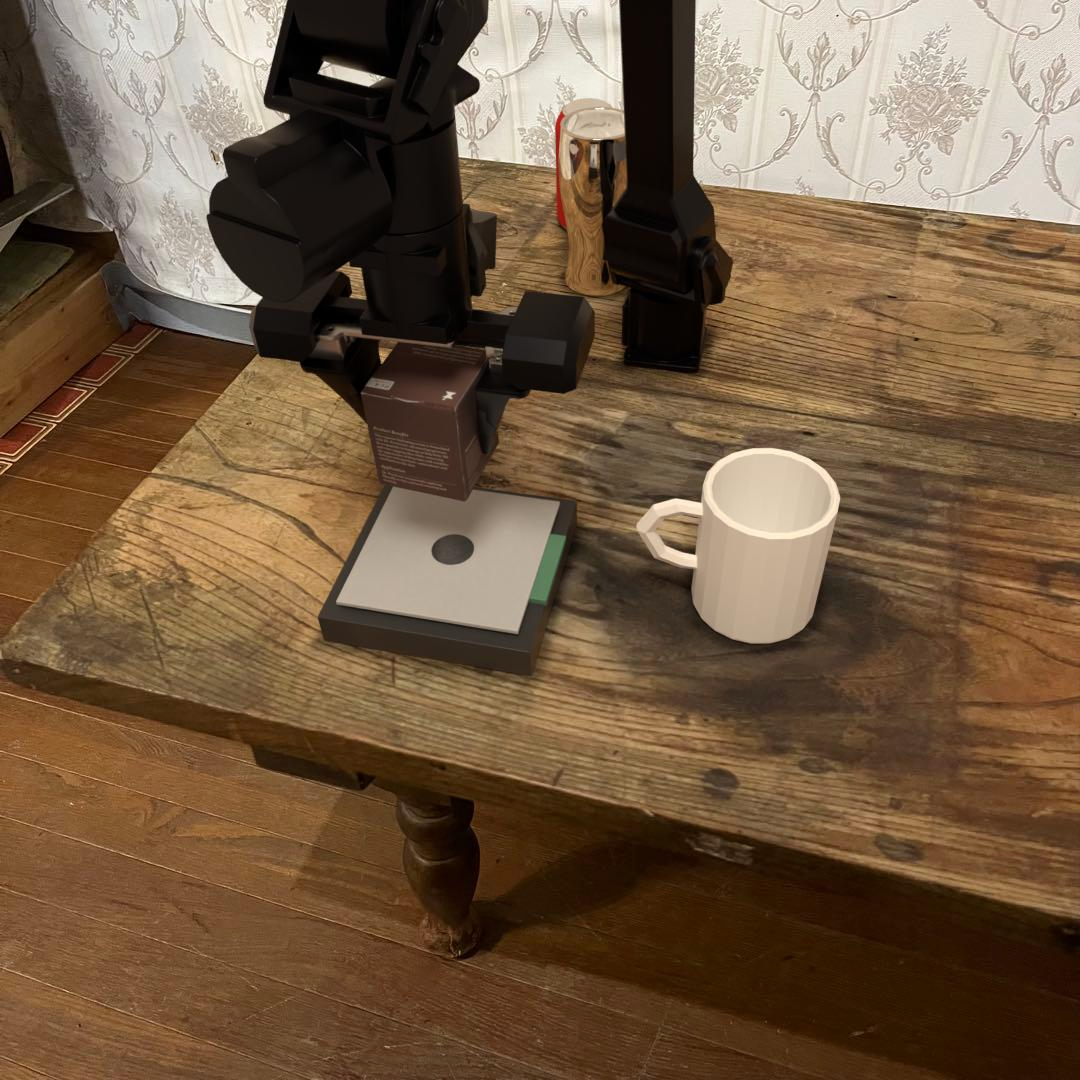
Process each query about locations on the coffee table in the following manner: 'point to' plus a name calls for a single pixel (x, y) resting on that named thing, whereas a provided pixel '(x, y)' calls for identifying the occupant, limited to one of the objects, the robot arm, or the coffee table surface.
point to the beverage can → (565, 110)
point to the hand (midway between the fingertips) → (437, 443)
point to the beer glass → (590, 192)
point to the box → (427, 419)
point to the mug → (754, 542)
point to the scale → (453, 577)
